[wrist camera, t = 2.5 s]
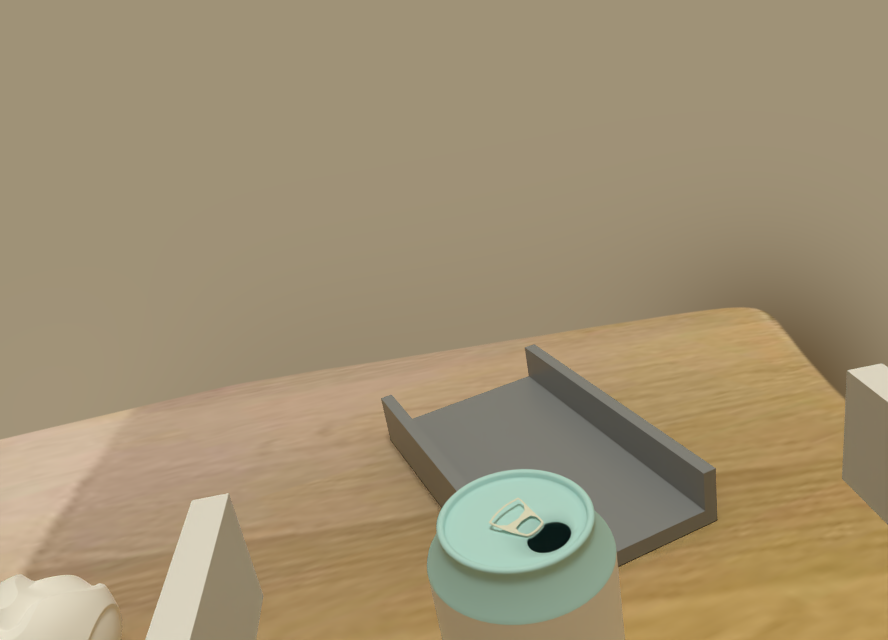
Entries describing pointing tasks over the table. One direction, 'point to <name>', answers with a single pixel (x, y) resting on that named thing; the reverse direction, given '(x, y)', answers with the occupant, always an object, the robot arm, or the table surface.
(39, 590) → the cream rounded lump
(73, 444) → the table surface
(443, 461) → the duct channel
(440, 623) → the can
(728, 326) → the table surface
